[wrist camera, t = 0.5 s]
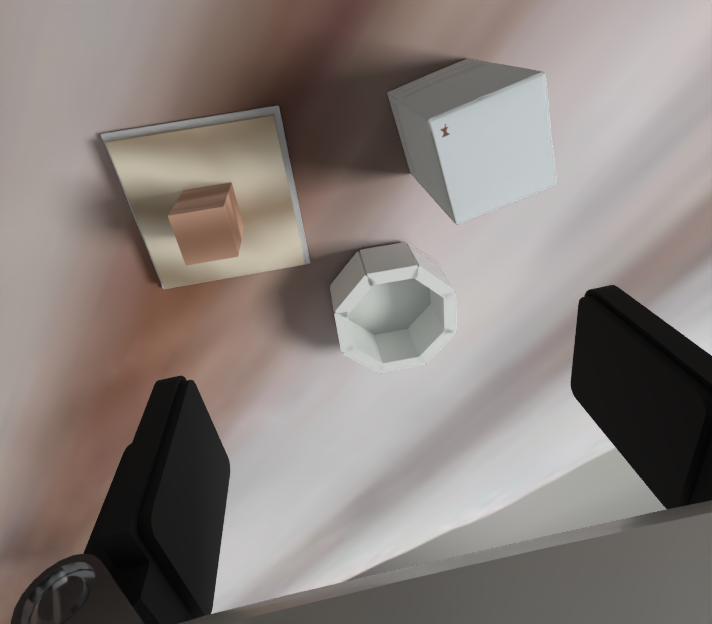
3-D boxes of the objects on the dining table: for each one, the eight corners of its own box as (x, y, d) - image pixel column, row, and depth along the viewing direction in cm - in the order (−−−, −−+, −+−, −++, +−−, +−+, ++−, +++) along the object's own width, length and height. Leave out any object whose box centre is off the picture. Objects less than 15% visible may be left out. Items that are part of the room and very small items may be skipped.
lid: (109, 139, 36) (75, 162, 30) (273, 113, 37) (271, 130, 31) (166, 283, 43) (148, 324, 37) (304, 259, 44) (307, 296, 38)
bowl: (323, 253, 44) (328, 280, 40) (438, 234, 45) (456, 258, 40) (340, 346, 50) (346, 379, 46) (441, 328, 51) (457, 359, 46)
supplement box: (409, 176, 41) (452, 229, 31) (384, 90, 37) (424, 117, 27) (488, 145, 41) (560, 188, 30) (472, 55, 37) (547, 67, 26)
